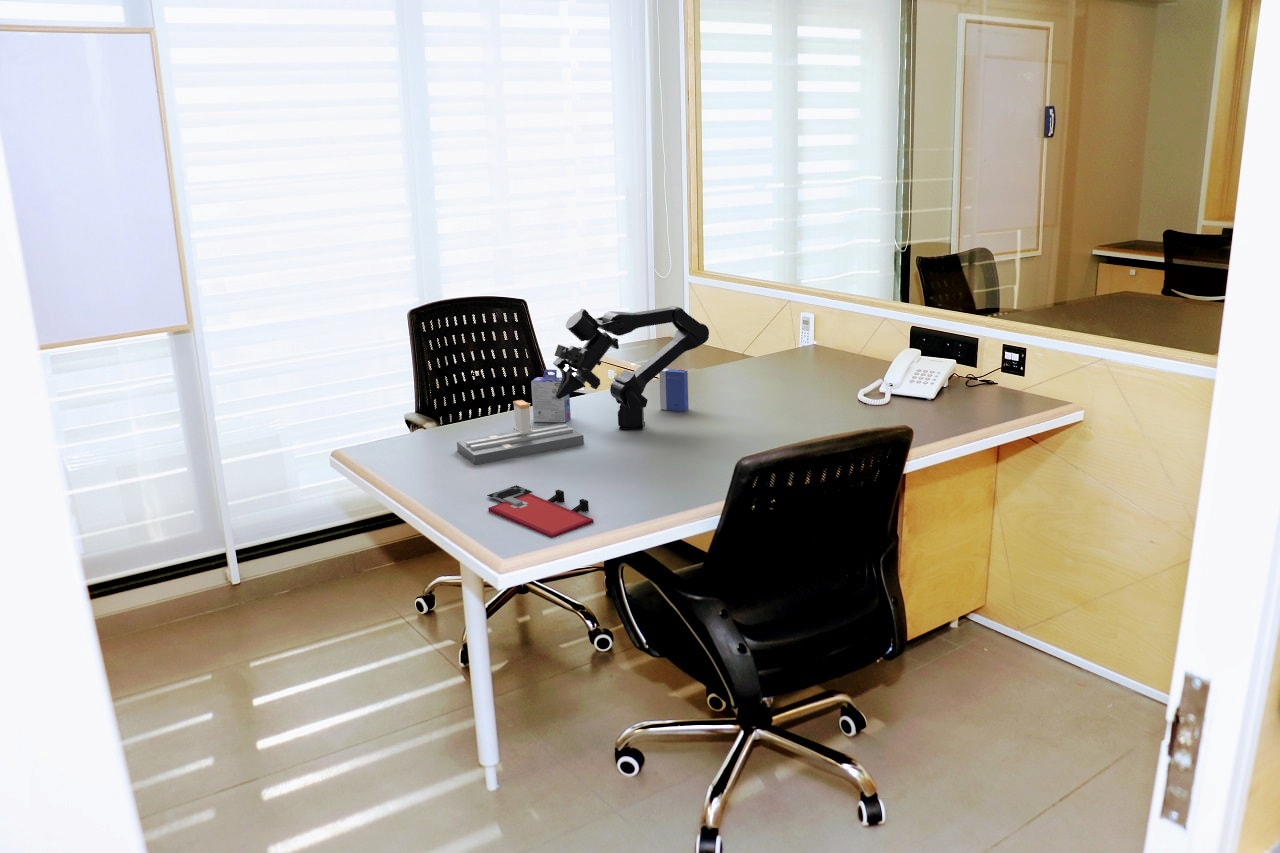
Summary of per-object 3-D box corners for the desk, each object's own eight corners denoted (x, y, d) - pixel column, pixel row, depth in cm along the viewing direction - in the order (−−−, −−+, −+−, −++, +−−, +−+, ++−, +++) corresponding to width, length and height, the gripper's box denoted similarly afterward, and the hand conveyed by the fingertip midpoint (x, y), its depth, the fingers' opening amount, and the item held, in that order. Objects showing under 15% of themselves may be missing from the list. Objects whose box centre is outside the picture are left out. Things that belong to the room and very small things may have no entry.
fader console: (562, 431, 285) (561, 420, 284) (583, 444, 273) (583, 432, 272) (457, 450, 272) (456, 438, 271) (475, 464, 260) (474, 452, 259)
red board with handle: (523, 486, 243) (469, 505, 234) (522, 475, 242) (468, 493, 233) (607, 520, 222) (552, 541, 212) (606, 507, 221) (551, 529, 212)
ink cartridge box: (571, 417, 299) (568, 368, 294) (566, 423, 293) (563, 373, 289) (538, 417, 301) (535, 368, 296) (533, 422, 295) (529, 372, 291)
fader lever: (525, 433, 275) (522, 399, 273) (533, 438, 271) (530, 404, 268) (514, 435, 274) (511, 401, 272) (522, 440, 269) (519, 405, 267)
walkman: (688, 409, 302) (687, 369, 299) (684, 411, 300) (683, 371, 297) (664, 407, 306) (662, 367, 302) (660, 409, 303) (658, 369, 300)
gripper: (558, 327, 280) (522, 373, 278) (587, 338, 264) (549, 387, 262) (586, 352, 286) (551, 397, 284) (616, 365, 270) (579, 412, 268)
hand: (557, 398), depth 274 cm, fingers closed
